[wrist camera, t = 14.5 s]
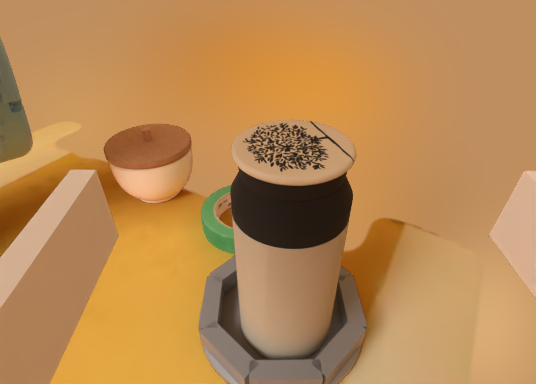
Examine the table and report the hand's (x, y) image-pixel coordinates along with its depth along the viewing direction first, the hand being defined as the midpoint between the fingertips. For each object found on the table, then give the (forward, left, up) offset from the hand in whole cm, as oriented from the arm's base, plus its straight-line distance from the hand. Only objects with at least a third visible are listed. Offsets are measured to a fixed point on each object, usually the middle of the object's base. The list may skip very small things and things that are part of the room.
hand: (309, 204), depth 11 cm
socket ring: (-7, +7, -21) cm, 24 cm away
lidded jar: (-33, +10, -22) cm, 41 cm away
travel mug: (-7, +7, -21) cm, 23 cm away
